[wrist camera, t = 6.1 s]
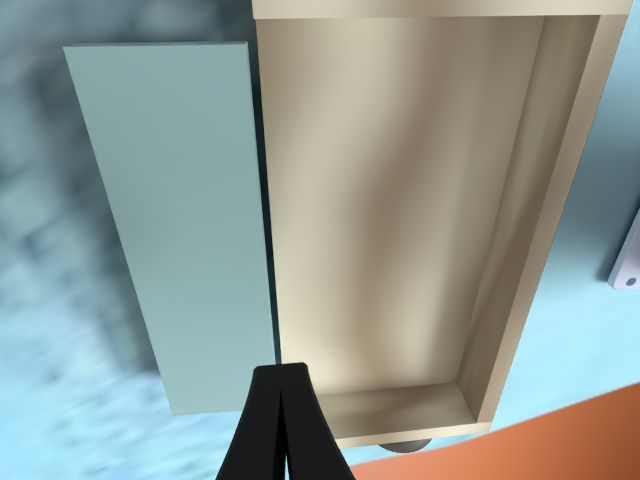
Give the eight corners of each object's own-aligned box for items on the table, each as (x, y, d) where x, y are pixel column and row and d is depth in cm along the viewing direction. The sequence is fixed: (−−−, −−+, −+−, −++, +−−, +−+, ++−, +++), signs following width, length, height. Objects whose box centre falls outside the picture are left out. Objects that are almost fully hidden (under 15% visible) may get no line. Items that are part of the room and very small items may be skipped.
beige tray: (557, -54, 14) (656, -69, 10) (453, 380, 24) (484, 443, 21) (251, -55, 13) (245, -73, 9) (285, 398, 23) (288, 466, 20)
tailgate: (244, 44, 12) (62, 47, 11) (277, 407, 20) (172, 415, 20) (247, 41, 13) (77, 43, 12) (277, 390, 21) (177, 397, 20)
